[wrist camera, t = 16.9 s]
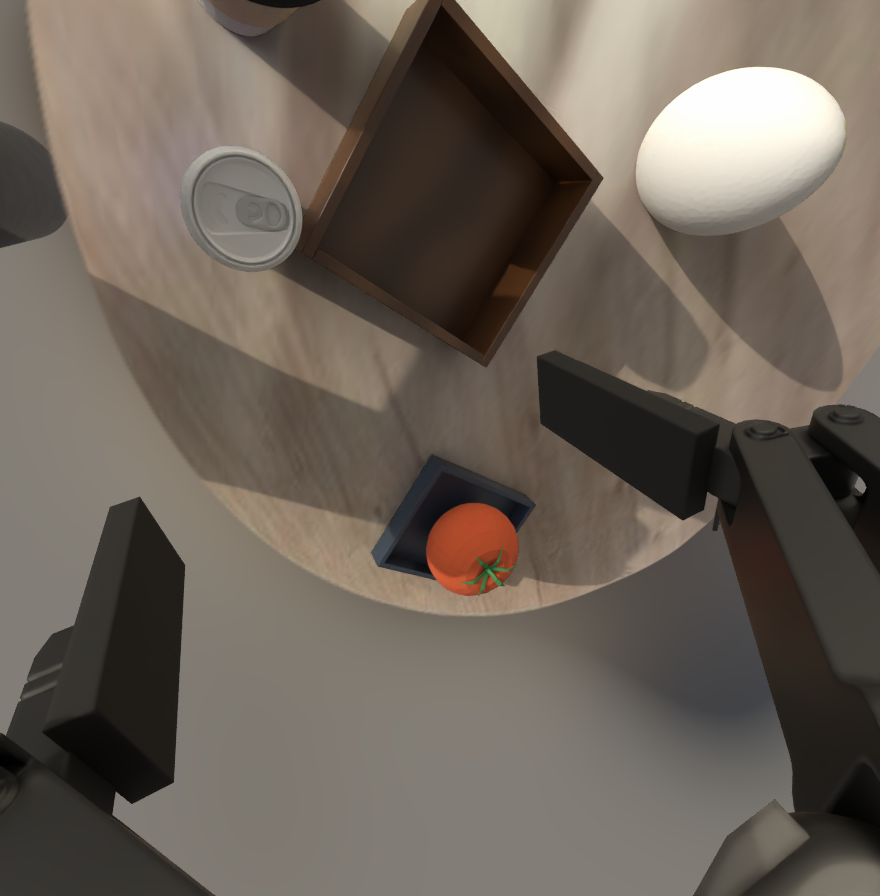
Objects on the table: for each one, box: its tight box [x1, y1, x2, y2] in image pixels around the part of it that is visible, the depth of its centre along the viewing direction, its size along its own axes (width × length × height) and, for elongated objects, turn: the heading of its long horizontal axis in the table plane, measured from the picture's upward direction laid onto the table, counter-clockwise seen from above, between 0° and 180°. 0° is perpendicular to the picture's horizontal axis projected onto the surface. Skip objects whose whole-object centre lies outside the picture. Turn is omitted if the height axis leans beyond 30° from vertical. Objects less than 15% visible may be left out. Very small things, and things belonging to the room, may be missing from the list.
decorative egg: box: [636, 67, 847, 236], centre depth 39 cm, size 12×12×15 cm
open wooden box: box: [295, 0, 603, 367], centre depth 36 cm, size 18×18×5 cm
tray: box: [371, 455, 536, 580], centre depth 54 cm, size 15×13×2 cm
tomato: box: [426, 503, 519, 596], centre depth 50 cm, size 10×10×10 cm
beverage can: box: [181, 145, 302, 272], centre depth 27 cm, size 5×5×15 cm
